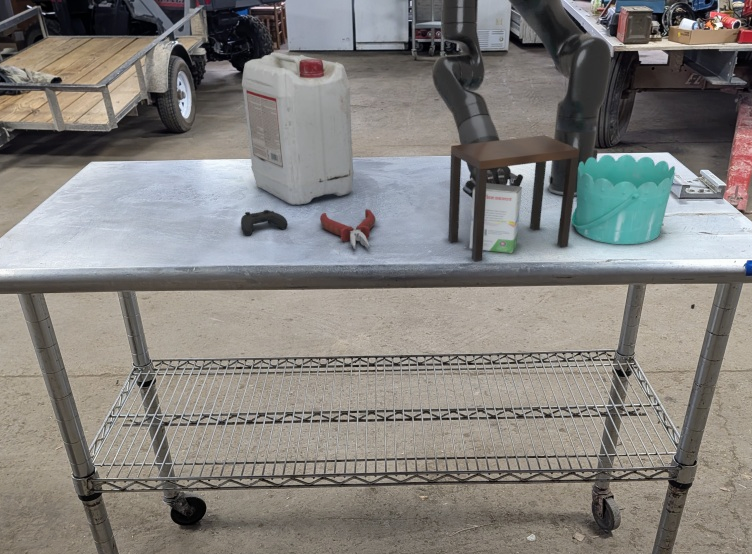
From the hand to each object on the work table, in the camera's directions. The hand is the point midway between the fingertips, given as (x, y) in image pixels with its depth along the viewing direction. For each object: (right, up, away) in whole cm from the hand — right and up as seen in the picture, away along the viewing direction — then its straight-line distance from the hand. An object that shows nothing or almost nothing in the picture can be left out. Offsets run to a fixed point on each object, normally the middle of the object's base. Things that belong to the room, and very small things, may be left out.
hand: (505, 223), depth 140 cm
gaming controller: (-50, +1, +11) cm, 51 cm away
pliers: (-32, -1, +7) cm, 32 cm away
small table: (0, -4, +1) cm, 4 cm away
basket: (+24, 0, +6) cm, 25 cm away
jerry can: (-43, +16, +34) cm, 57 cm away
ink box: (-2, -5, 0) cm, 5 cm away
